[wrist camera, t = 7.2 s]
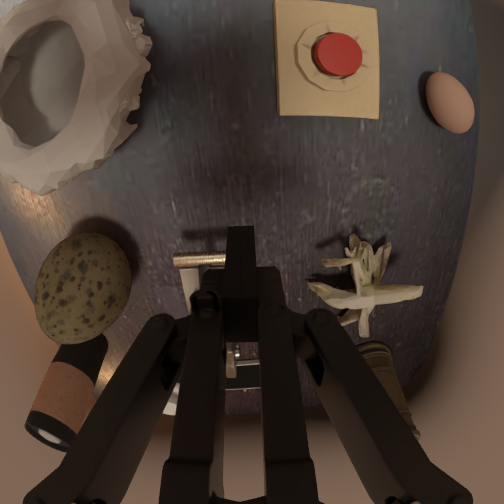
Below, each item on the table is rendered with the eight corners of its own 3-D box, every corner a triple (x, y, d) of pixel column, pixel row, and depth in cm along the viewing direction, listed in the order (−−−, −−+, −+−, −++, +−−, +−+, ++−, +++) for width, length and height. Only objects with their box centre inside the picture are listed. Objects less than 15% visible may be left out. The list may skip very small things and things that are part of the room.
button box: (272, 4, 22) (276, -7, 19) (368, 12, 22) (384, 5, 19) (277, 113, 28) (281, 117, 25) (370, 116, 28) (386, 121, 25)
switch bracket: (180, 263, 37) (160, 332, 27) (245, 260, 37) (246, 331, 27) (193, 323, 42) (182, 391, 32) (249, 321, 42) (251, 391, 32)
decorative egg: (68, 208, 33) (-2, 276, 20) (146, 224, 34) (97, 308, 21) (72, 277, 38) (24, 354, 25) (141, 294, 39) (108, 383, 27)
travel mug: (113, 357, 47) (81, 458, 29) (76, 349, 46) (38, 443, 29) (104, 325, 43) (60, 435, 25) (64, 318, 42) (14, 417, 25)
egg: (445, 126, 29) (416, 74, 26) (481, 116, 25) (454, 59, 22) (442, 147, 27) (411, 89, 24) (483, 137, 23) (454, 73, 20)
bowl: (11, 163, 29) (-39, 192, 20) (25, 10, 19) (-29, 4, 10) (153, 177, 31) (120, 215, 23) (185, -7, 21) (160, -42, 12)
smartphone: (294, 380, 50) (294, 385, 49) (206, 386, 50) (205, 391, 49) (293, 355, 46) (294, 360, 45) (197, 362, 47) (196, 367, 46)
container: (329, 364, 48) (350, 459, 32) (370, 333, 44) (407, 430, 29) (358, 379, 51) (382, 463, 35) (397, 352, 48) (431, 437, 32)
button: (312, 33, 21) (316, 30, 20) (355, 38, 21) (362, 35, 20) (314, 74, 23) (318, 74, 22) (356, 78, 23) (363, 77, 22)
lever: (177, 252, 32) (171, 253, 29) (234, 249, 31) (232, 250, 29) (187, 360, 32) (182, 369, 30) (240, 359, 32) (240, 368, 30)
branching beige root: (298, 221, 37) (421, 213, 30) (328, 293, 47) (422, 294, 40) (279, 278, 32) (423, 278, 25) (316, 342, 42) (419, 348, 35)
